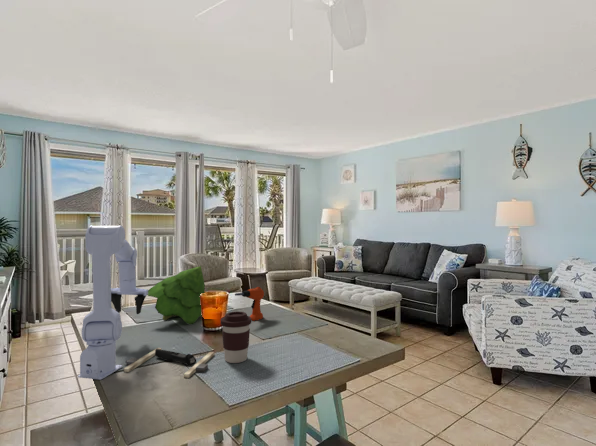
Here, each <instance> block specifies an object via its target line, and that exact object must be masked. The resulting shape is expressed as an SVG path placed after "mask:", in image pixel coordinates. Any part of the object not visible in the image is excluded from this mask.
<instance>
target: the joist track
mask: <svg viewBox="0 0 596 446" xmlns="http://www.w3.org/2000/svg"><path fill="white" fill-rule="evenodd" d="M156 349H160V350H163V349H162V348H161V347H157V348H155V349H153V350H152V351H150V352H149V353H146V354H145V355H143V356H142V357H140V358H137V357H132V358H130V359H128V360H126V361H125V365H126V367H124V368H123V372H124V373H130V372H131V371H133V370H135V369H136V368H138V367H139V366H140V365H142V364H144V363H146V361H149V360H150V359H151V358H153V357H154V356H155V350H156ZM214 356H215V352H214V351H209V352H208V353H207V354H205V356H203V357H202V358H201V359H200V360H198V361H196V363H195V364H193V365H192V367H190V368H189V369H188V370H187V371H186V372H184V374H183V378H187V379H189V378H190V377H191V376H193V375H194V374H195V373H196V372H197V373H198V372H199V373H204V372H205V371H206V370H208V368H209V364H207V362H208V361H209V360H211V359H212V358H213V357H214ZM155 357H156V356H155Z"/></svg>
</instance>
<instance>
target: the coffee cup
mask: <svg viewBox="0 0 596 446" xmlns="http://www.w3.org/2000/svg"><path fill="white" fill-rule="evenodd" d="M224 315H225V316H223V317H221V318H220V325H221V326H222V330H221V332H222V344H223V345H222V347H223V351H224V353H223V354H224V360H225V362H227V363H231V364H238V363H243V362H245V361H247V359H248V351H249V349H248V348H249V345H250V334H251V333H250V325H251V324H252V321H251V317H249V315H248V314H247V312H246V311H245V312H244V311H237V310H236V311H230V312H227V313H225V314H224Z"/></svg>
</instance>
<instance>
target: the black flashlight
mask: <svg viewBox="0 0 596 446" xmlns="http://www.w3.org/2000/svg"><path fill="white" fill-rule="evenodd" d="M155 349H156V350H155ZM155 349H154V350H155V357H156V358H159V359H163V360H165V361H167V362H172V361H173V362H177V363H181V364H185V365H186V366H194V365H195V364H196V363H197V359H196V357H195V356H194V355H192V354H191V353H188V354H186V353H181V352H176V351H171V350H167V349H162V350H160V349H157V348H155Z"/></svg>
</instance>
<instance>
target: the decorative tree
mask: <svg viewBox="0 0 596 446" xmlns="http://www.w3.org/2000/svg"><path fill="white" fill-rule="evenodd" d="M205 289H206V288H205V279H204V275H203V270H202V266H201V265H200V266H197V267H193V268H189V269H186V270H183V271H179V272H178V273H177V274H176V275H171V276H169V277H165V278H164V279H163V280H161V281H158V282H156V284H155V285H153V286H152V287H150V288H149V289H148V295H147V296H148V297H153V298H155V299H156V302H155V306H154V308H155V311H157V313H158V314H160V315H161V316H162V320H163V321H167V320H169V319H170V318H175V317H179V318H181V319H182V320H183V322H184V323H185V324H187V325H188V326H189V325H191V326H192V325H194V324H195V323H196V321H197V320H199V318H200V317H202V315H201V305H200V297H199V296H200V294H201V293H205V294H206V292H205V291H206V290H205Z"/></svg>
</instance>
